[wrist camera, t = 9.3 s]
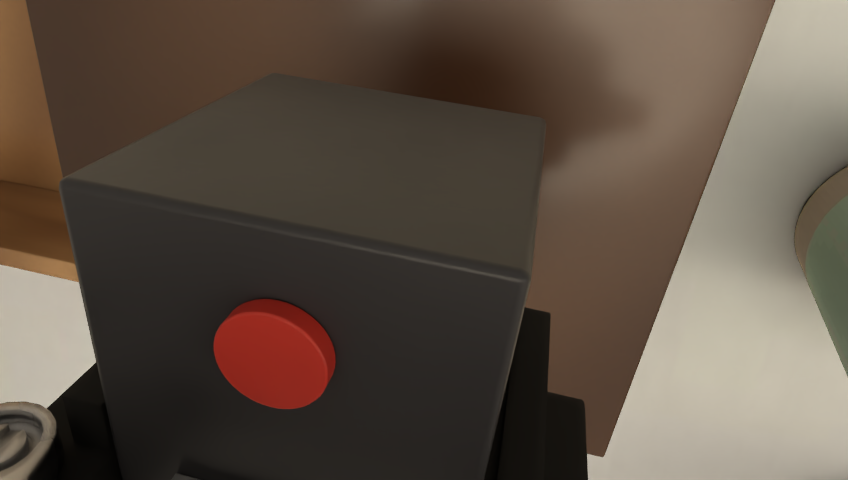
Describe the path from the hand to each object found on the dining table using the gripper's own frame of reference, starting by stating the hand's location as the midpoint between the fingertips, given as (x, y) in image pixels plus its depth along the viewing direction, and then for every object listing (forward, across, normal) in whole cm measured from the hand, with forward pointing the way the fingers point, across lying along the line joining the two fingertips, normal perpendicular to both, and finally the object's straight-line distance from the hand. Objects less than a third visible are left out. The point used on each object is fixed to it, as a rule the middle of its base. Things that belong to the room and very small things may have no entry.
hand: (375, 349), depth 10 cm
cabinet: (+13, +3, 0) cm, 14 cm away
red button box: (0, 0, 0) cm, 0 cm away
